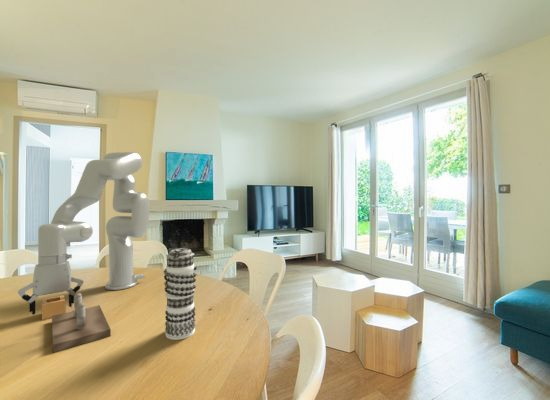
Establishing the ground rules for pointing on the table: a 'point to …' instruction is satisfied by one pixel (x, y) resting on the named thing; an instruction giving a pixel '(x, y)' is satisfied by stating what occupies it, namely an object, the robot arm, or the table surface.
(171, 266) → the decorative candle
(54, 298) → the collar
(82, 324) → the post board
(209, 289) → the table surface
